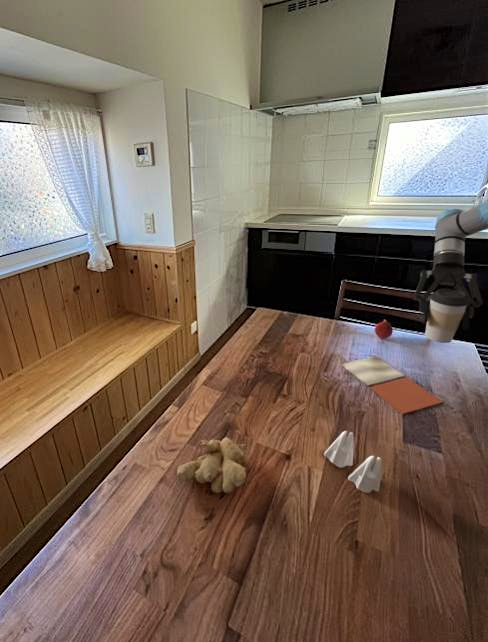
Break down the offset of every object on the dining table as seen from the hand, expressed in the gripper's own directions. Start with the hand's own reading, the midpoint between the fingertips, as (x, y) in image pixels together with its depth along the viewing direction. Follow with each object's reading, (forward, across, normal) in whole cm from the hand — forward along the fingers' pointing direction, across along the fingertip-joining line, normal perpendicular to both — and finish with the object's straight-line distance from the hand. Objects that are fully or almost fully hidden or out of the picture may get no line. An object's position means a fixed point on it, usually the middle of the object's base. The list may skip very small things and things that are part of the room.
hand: (444, 325), depth 98 cm
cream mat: (+15, +16, -12) cm, 25 cm away
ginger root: (+54, +48, +27) cm, 78 cm away
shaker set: (+46, +21, +20) cm, 54 cm away
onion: (-1, +12, -28) cm, 31 cm away
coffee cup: (+2, 0, -6) cm, 7 cm away
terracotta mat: (+22, +7, -5) cm, 23 cm away
